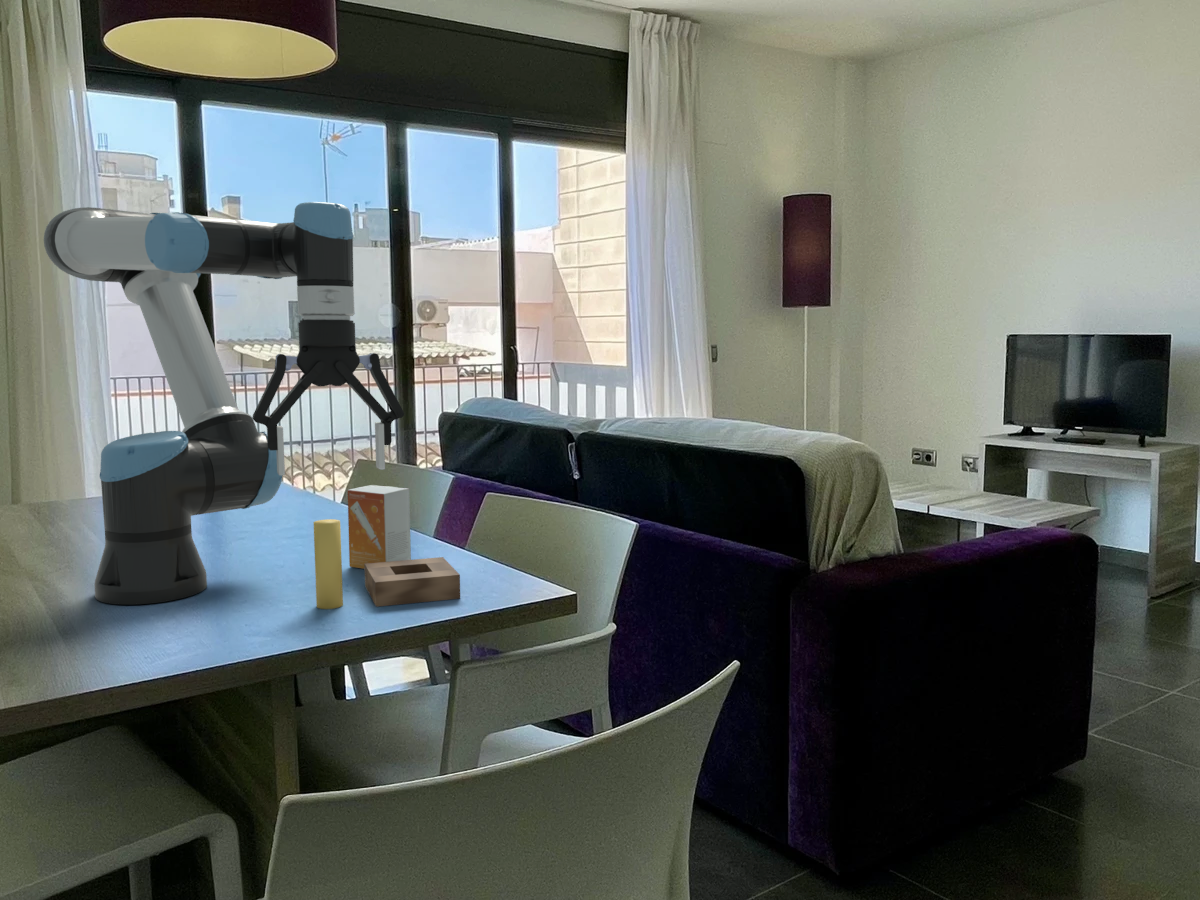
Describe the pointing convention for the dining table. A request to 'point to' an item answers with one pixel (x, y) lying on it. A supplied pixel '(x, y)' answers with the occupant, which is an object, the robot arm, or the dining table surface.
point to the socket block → (411, 581)
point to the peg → (328, 564)
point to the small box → (378, 525)
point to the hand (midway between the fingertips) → (331, 471)
